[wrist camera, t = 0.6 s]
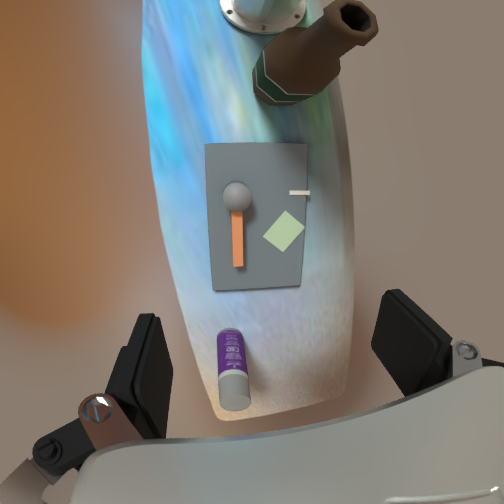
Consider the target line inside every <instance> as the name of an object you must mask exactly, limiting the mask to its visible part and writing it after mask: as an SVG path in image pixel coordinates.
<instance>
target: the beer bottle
mask: <svg viewBox="0 0 504 504" xmlns="http://www.w3.org/2000/svg"><path fill="white" fill-rule="evenodd" d="M323 11H324V15H323V16H322V17H321V18H319V19H318V20H317V21H316V22H314V23H313V24H312V25H311V26H310V27H308V28H302V27H290V28H287V29H285V30H284V31H283V32H282V33H281V34H279V35H278V36H277V37H276V38H275V39H273V40H272V41H271V42H270V43H269V44H268V45H267V46H266V47H265V48H264V49H263V51H262V53H261V55H260V57H259V59H258V61H257V63H256V65H255V67H254V69H253V72H252V75H253V89H254V92H255V93H256V94H257V95H258V96H259V97H261V98H262V99H263V100H264V101H265V102H267V103H268V104H269V105H292V104H295V103H298V102H300V101H302V100H305V99H307V98H309V97H312V96H314V95H316V94H318V93H319V92H321V91H322V90H323V89H324V88H325V87H326V86H327V85H328V84H329V83H330V82H331V81H332V80H333V79H334V78H335V77H337V76H338V75H339V72H340V59H339V58H340V57H341V56H342V55H344V54H345V53H346V52H348V51H349V50H350V49H352V48H353V47H355V46H356V45H360V46H365V45H366V44H367V43H368V42H369V41H370V40H371V39H373V38H374V37H375V36H376V34H377V33H378V25H377V20H376V16H375V15H374V14H373V13H372V12H371V11H370V10H369V9H368V8H367V7H366V6H365V5H364V4H363V3H362V2H359V1H355V0H335V1H334V2H332V3H331V4H329V5H328V6H327V7H325V8H324V9H323Z"/></svg>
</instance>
